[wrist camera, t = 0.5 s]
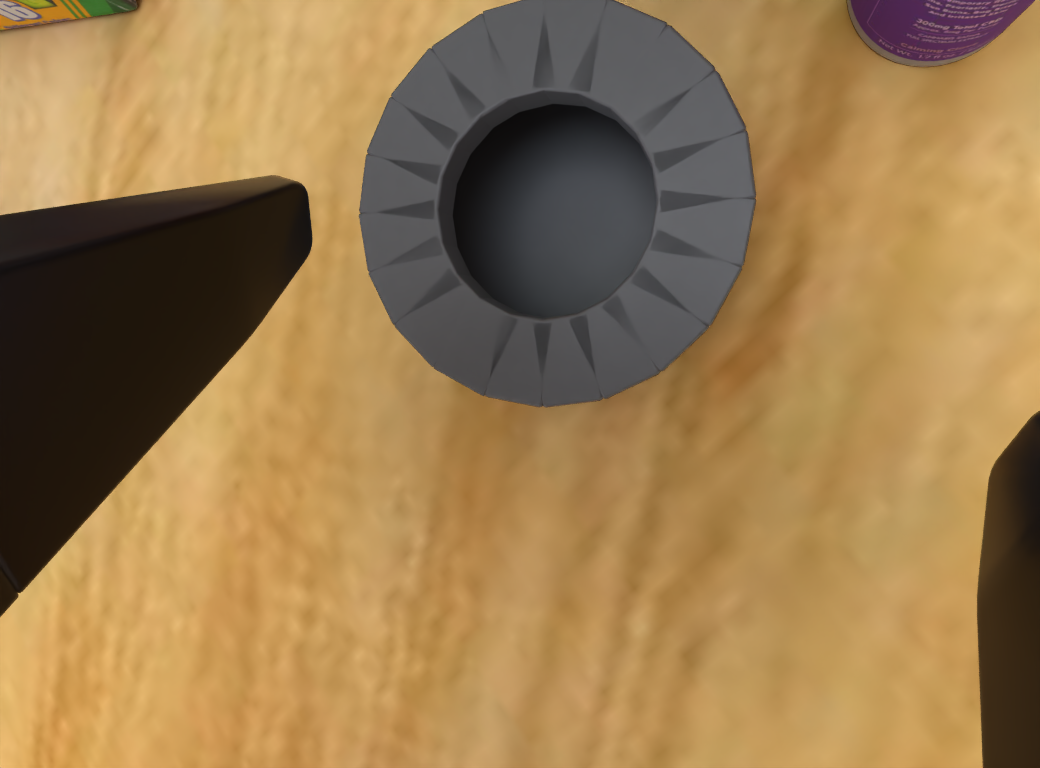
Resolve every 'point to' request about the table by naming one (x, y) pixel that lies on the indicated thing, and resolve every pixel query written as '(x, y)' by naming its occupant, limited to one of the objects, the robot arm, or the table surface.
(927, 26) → the container
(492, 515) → the table surface
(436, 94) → the grey pot
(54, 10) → the chalk box
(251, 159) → the table surface
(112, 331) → the robot arm
